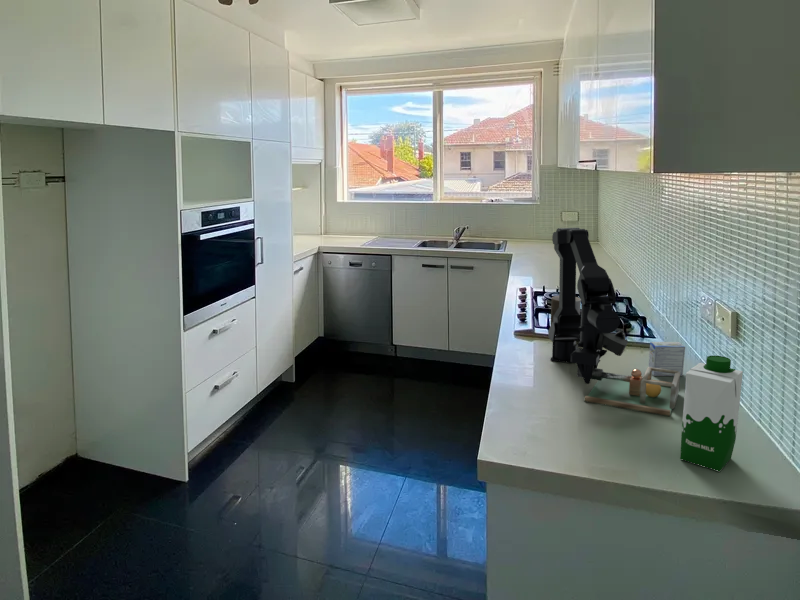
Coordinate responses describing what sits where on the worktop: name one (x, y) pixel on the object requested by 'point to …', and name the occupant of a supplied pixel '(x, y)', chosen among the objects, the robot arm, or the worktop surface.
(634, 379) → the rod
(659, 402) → the pitch
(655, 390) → the ball
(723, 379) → the milk carton
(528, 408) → the worktop surface
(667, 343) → the medicine box
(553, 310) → the pillar candle
